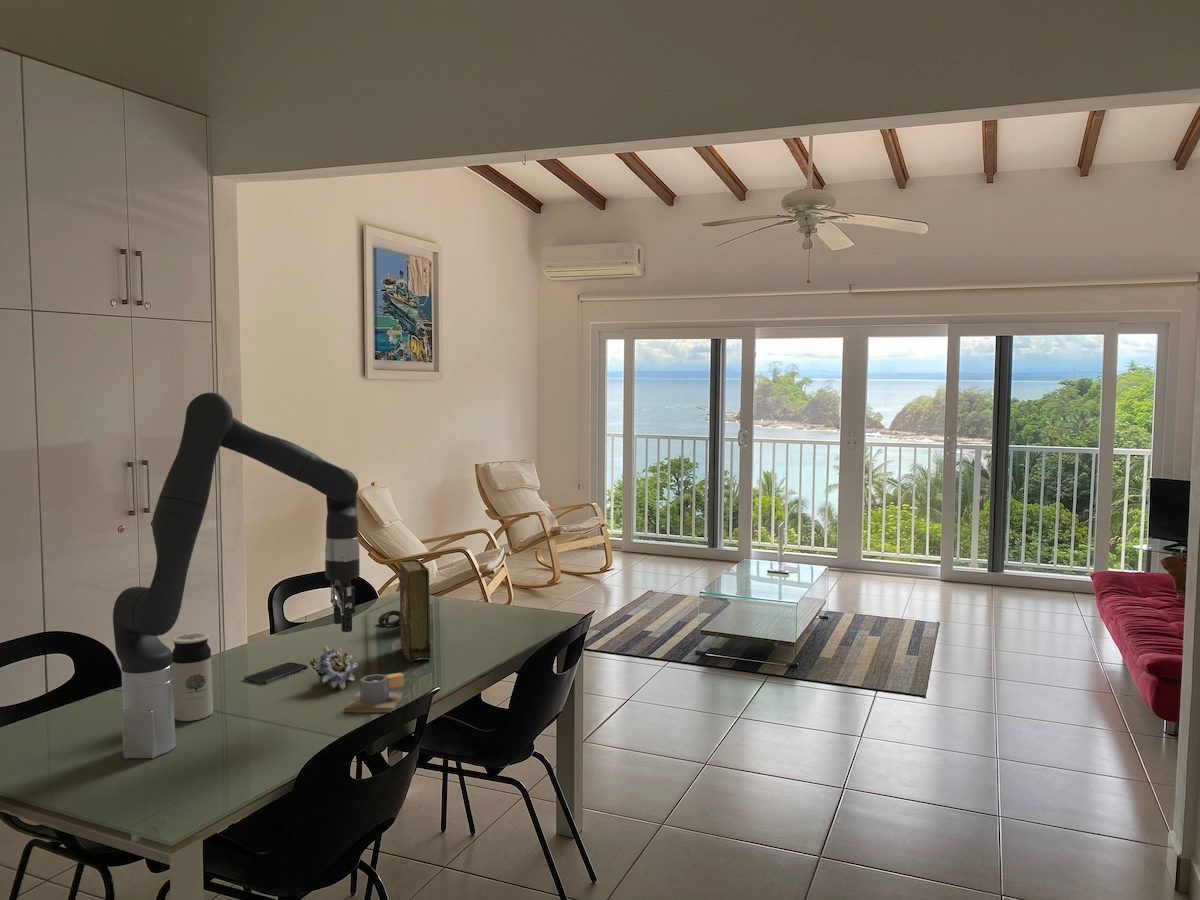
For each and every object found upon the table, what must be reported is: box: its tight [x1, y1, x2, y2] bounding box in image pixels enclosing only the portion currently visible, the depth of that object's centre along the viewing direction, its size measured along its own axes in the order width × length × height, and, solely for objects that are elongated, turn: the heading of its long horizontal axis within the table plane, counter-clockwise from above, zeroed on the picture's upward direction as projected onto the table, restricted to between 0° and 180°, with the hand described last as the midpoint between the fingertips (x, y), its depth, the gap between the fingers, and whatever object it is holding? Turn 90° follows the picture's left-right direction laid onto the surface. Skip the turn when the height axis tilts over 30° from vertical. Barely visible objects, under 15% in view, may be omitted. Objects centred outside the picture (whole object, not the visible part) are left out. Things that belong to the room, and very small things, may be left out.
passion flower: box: [309, 645, 359, 691], centre depth 219 cm, size 11×11×12 cm
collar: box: [359, 672, 405, 704], centre depth 207 cm, size 10×6×5 cm, turn 120°
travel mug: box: [171, 632, 214, 722], centre depth 199 cm, size 8×8×18 cm
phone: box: [243, 662, 309, 686], centre depth 228 cm, size 8×1×15 cm
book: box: [398, 559, 432, 662], centre depth 244 cm, size 16×6×25 cm, turn 22°
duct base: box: [344, 680, 405, 714], centre depth 206 cm, size 11×11×6 cm
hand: (342, 627), depth 203 cm, fingers open, 8 cm apart
